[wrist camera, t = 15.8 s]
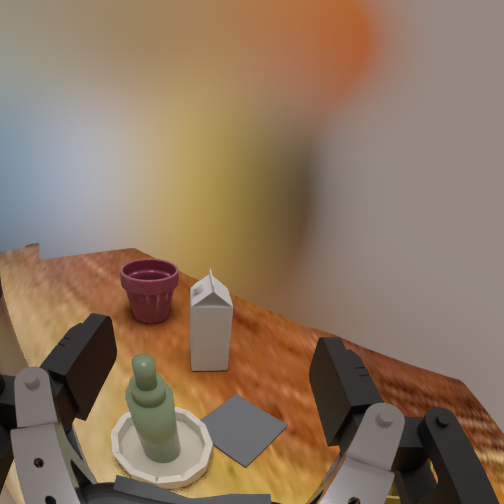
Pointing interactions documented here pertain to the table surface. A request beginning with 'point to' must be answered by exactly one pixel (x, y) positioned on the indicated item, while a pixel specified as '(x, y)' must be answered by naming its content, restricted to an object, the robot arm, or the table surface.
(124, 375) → the table surface
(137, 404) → the olive bottle
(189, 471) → the bowl
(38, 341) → the table surface
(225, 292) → the milk carton
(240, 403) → the mat
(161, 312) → the plant pot
